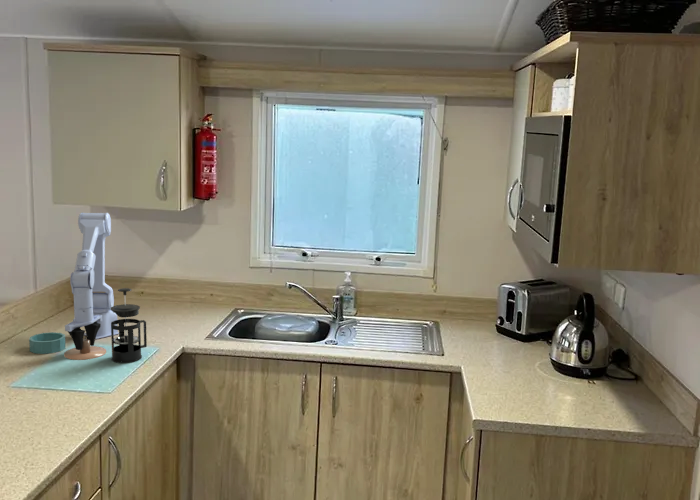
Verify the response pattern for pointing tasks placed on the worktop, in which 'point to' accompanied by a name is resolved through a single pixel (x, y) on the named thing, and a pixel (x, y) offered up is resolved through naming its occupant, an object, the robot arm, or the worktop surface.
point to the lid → (85, 352)
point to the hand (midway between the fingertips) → (85, 347)
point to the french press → (126, 342)
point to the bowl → (47, 343)
